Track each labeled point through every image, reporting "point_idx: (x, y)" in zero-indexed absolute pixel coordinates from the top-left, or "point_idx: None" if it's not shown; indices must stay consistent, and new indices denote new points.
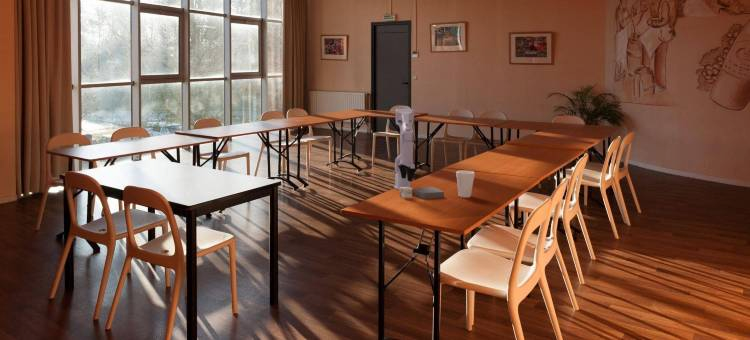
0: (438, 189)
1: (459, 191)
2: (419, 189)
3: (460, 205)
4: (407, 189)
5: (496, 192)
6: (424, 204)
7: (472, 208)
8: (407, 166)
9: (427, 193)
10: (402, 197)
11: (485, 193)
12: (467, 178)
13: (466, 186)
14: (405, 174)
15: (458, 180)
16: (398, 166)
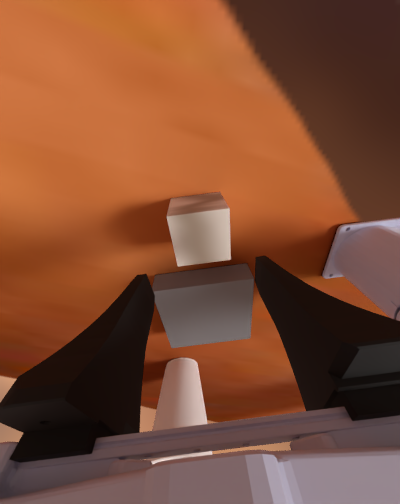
0: (210, 341)
1: (175, 373)
2: (228, 293)
3: (62, 344)
4: (172, 240)
5: (205, 403)
6: (50, 259)
7: (29, 358)
8: (304, 395)
9: (156, 304)
10: (179, 198)
11: None
12: None
13: (158, 403)
14: (267, 301)
15: (173, 415)
16: (385, 325)
